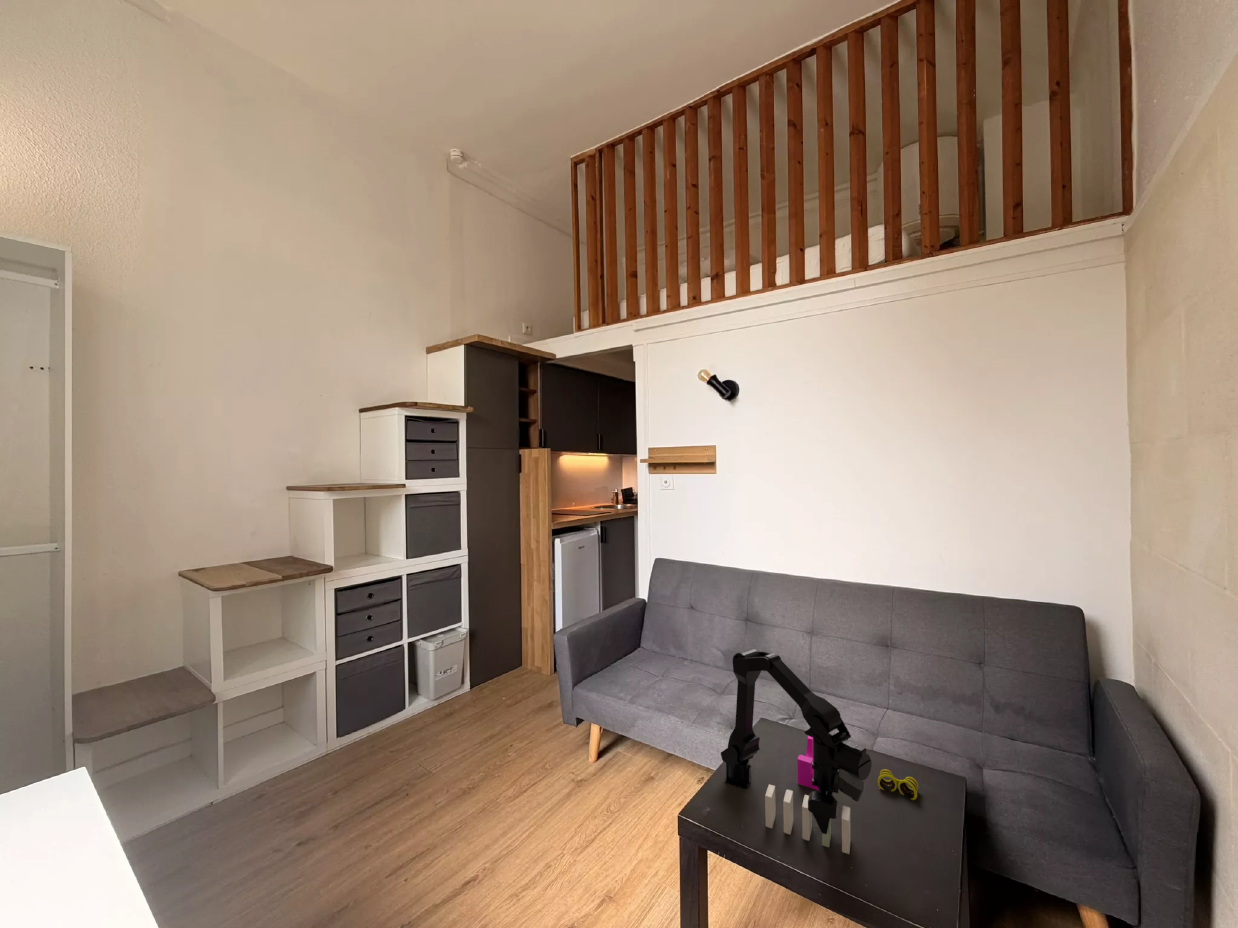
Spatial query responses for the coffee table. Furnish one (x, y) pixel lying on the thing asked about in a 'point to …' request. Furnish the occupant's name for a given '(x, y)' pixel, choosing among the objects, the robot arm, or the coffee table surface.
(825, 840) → the pale green domino
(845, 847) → the domino
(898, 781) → the opera glasses
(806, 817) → the domino
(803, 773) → the toy block
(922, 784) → the coffee table surface
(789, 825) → the domino
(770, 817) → the domino
